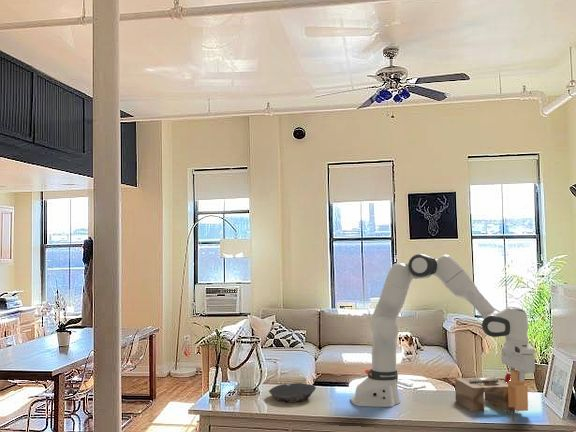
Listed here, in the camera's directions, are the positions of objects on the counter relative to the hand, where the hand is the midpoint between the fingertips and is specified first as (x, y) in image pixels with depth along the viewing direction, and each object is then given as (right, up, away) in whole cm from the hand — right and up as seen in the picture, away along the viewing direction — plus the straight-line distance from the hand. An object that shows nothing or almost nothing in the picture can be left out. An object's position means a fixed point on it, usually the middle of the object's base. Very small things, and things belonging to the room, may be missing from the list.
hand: (517, 379), depth 228 cm
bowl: (-95, -16, +23) cm, 99 cm away
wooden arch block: (-10, -15, +12) cm, 22 cm away
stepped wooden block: (0, -12, -1) cm, 12 cm away
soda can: (+7, -16, +21) cm, 28 cm away
